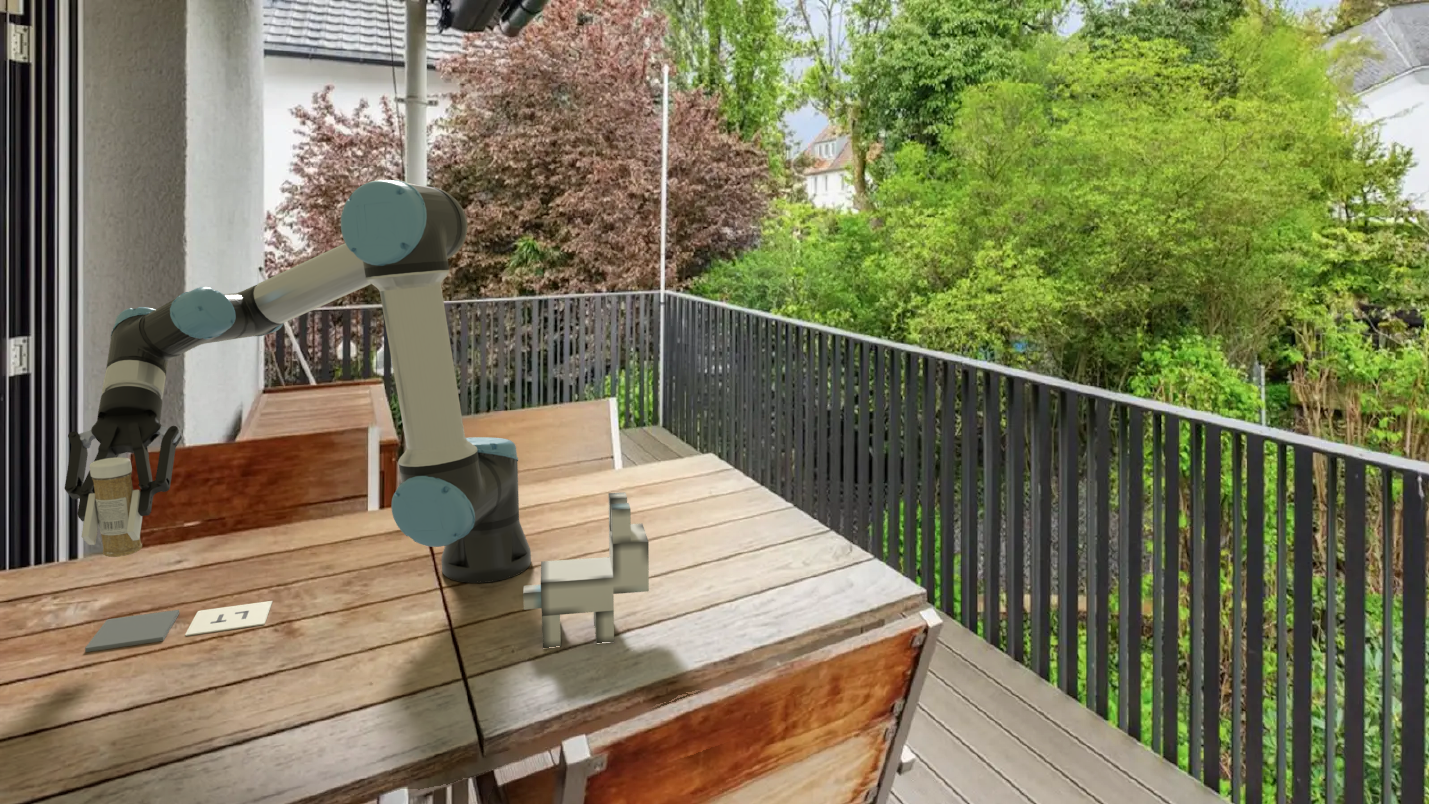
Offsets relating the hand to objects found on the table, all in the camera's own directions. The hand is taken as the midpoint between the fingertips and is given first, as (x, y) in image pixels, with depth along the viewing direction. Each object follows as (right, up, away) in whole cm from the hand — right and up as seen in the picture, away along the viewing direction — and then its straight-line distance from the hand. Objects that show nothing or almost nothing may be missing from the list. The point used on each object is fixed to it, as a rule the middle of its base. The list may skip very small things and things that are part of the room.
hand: (111, 538), depth 106 cm
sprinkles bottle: (-2, -3, +4) cm, 5 cm away
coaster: (-2, -15, +6) cm, 16 cm away
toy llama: (+64, -15, +8) cm, 66 cm away
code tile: (+10, -14, +11) cm, 20 cm away
